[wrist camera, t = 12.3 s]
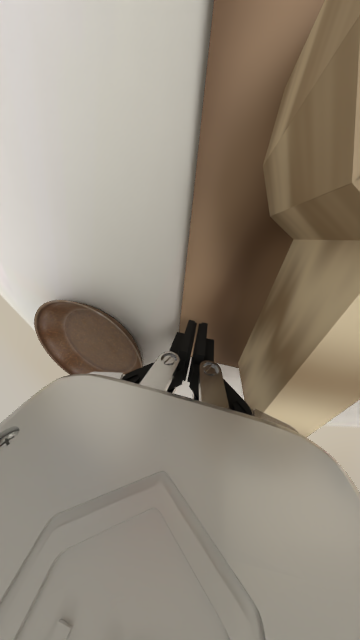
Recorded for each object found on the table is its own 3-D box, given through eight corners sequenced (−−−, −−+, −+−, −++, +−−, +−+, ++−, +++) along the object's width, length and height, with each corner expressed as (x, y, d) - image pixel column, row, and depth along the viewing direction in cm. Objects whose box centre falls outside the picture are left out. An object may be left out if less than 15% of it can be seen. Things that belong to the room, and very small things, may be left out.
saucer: (33, 296, 18) (6, 305, 16) (131, 286, 14) (115, 296, 12) (86, 374, 25) (73, 387, 23) (161, 381, 21) (155, 399, 19)
